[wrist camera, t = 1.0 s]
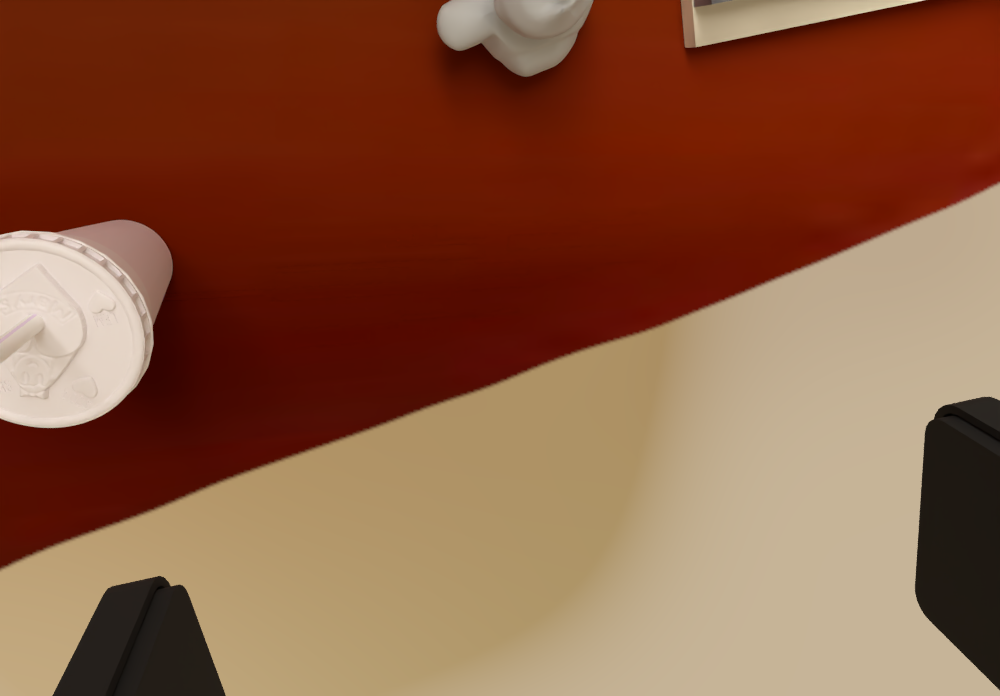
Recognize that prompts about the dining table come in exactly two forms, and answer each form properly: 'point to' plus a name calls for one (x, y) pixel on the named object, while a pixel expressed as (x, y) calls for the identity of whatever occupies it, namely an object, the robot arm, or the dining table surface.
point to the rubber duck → (515, 30)
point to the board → (765, 16)
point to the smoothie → (77, 319)
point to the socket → (707, 2)
